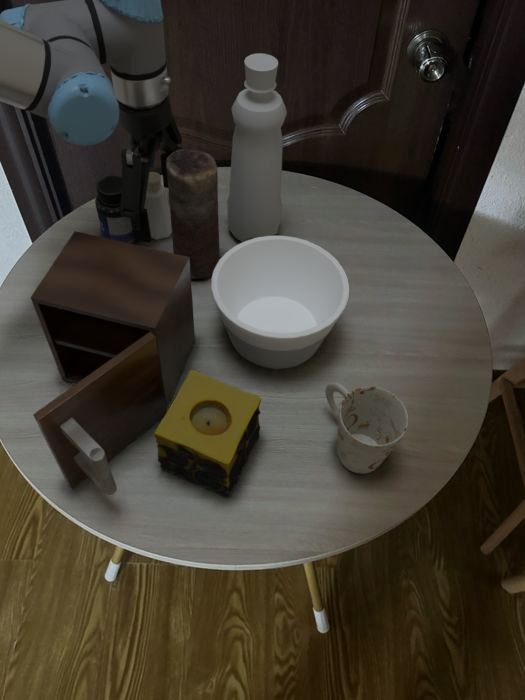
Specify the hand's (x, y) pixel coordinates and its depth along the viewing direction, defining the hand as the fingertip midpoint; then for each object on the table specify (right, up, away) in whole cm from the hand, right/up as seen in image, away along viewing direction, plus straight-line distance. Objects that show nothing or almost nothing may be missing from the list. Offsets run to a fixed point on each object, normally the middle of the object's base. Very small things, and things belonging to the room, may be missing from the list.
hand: (158, 213), depth 103 cm
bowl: (+19, -20, -9) cm, 29 cm away
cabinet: (-2, -24, -14) cm, 28 cm away
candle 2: (+11, -36, -22) cm, 44 cm away
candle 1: (+7, -9, -2) cm, 11 cm away
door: (+1, -38, -23) cm, 44 cm away
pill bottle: (-6, -4, +1) cm, 8 cm away
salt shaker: (0, -2, +3) cm, 4 cm away
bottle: (+16, -2, +4) cm, 16 cm away
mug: (+29, -35, -20) cm, 50 cm away
